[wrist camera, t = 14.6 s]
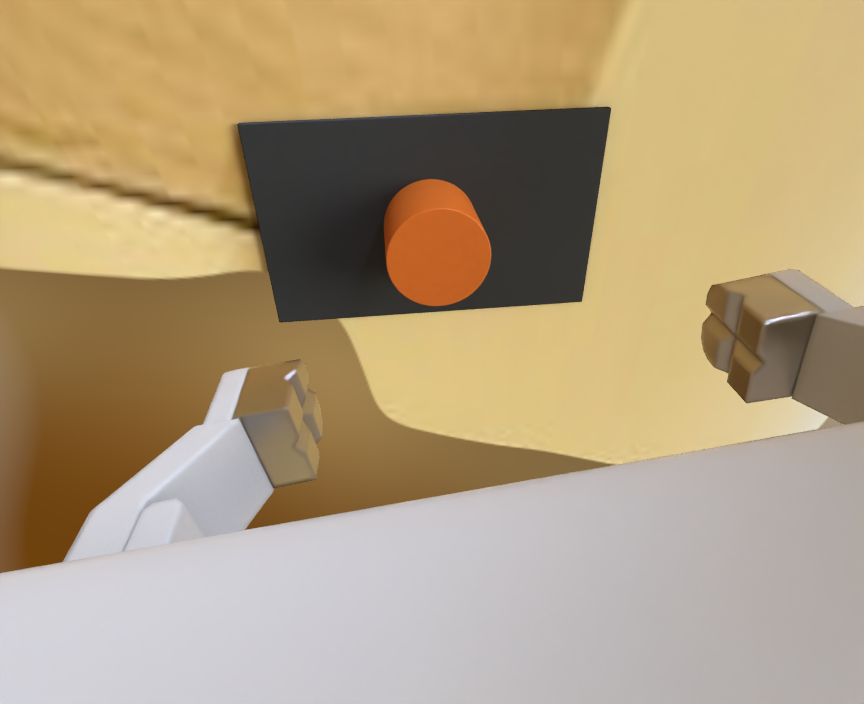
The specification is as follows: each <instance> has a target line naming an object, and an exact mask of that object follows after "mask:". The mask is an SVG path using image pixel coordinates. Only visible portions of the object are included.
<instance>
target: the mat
mask: <svg viewBox="0 0 864 704" xmlns="http://www.w3.org/2000/svg"><path fill="white" fill-rule="evenodd" d="M610 112H611V108H610V107H594V108H571V109H548V110H525V111H503V112H480V113H457V114H434V115H411V116H389V117H366V118H343V119H320V120H297V121H275V122H252V123H239V124H238V129H239V134H240V139H241V144H242V148H243V153H244V158H245V162H246V167H247V172H248V177H249V181H250V186H251V191H252V195H253V200H254V205H255V210H256V214H257V219H258V224H259V228H260V233H261V238H262V243H263V247H264V252H265V257H266V261H267V266H268V271H269V276H270V280H271V285H272V289H273V294H274V299H275V303H276V309H277V313H278V318H279V322H292V321H307V320H322V319H337V318H351V317H366V316H380V315H394V314H409V313H423V312H438V311H452V310H467V309H481V308H496V307H510V306H525V305H539V304H554V303H568V302H582V297H583V290H584V284H585V277H586V270H587V264H588V257H589V251H590V244H591V237H592V231H593V224H594V218H595V211H596V204H597V198H598V191H599V185H600V178H601V171H602V165H603V158H604V152H605V145H606V138H607V132H608V125H609V119H610ZM425 179H438V180H443V181H446V182H449V183H451V184H453V185H455V186H457V187H458V188H459V189H461V190H462V191H463V192H464V193H465V194H466V195H467V197H468V198H469V200H470V201H471V203H472V205H473V207H474V209H475V212H476V214H477V216H478V218H479V220H480V222H481V224H482V226H483V228H484V230H485V232H486V234H487V236H488V239H489V242H490V246H491V263H490V267H489V270H488V273H487V275H486V277H485V279H484V280H483V282H482V283H481V285H480V286H479V287H478V288H477V289H476V290H475V291H474V292H473V293H472V294H471V295H469V296H468V297H466V298H465V299H463V300H461V301H459V302H456V303H453V304H449V305H444V306H428V305H423V304H419V303H417V302H414V301H412V300H410V299H408V298H407V297H405V296H404V295H403V294H402V293H401V292H399V291H398V289H397V288H396V287H395V286H394V284H393V283H392V281H391V279H390V277H389V274H388V271H387V266H386V255H385V239H384V217H385V213H386V210H387V208H388V205H389V203H390V202H391V200H392V199H393V198H394V196H395V195H396V194H397V193H398V192H399V191H400V190H401V189H403V188H404V187H406V186H407V185H409V184H411V183H414V182H416V181H420V180H425Z"/></svg>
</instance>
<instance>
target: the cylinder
mask: <svg viewBox="0 0 864 704" xmlns="http://www.w3.org/2000/svg"><path fill="white" fill-rule="evenodd" d="M384 239H385V255H386V266H387V271H388V274H389V277H390V279H391V281H392V283H393V284H394V286H395V287H396V288H397V289H398V291H399V292H401V293H402V294H403V295H404V296H405V297H407V298H408V299H410V300H412V301H414V302H417V303H419V304H423V305H428V306H444V305H449V304H453V303H456V302H459V301H461V300H463V299H465V298H466V297H468V296H469V295H471V294H472V293H473V292H474V291H475V290H476V289H477V288H478V287H479V286H480V285H481V283H482V282H483V280H484V279H485V277H486V275H487V273H488V270H489V267H490V263H491V246H490V242H489V239H488V236H487V234H486V232H485V230H484V228H483V226H482V224H481V222H480V220H479V218H478V216H477V214H476V212H475V209H474V207H473V205H472V203H471V201H470V200H469V198H468V197H467V195H466V194H465V193H464V192H463V191H462V190H461V189H459V188H458V187H457V186H455V185H453V184H451V183H449V182H446V181H443V180H438V179H425V180H420V181H416V182H414V183H411V184H409V185H407V186H406V187H404V188H403V189H401V190H400V191H399V192H398V193H397V194H396V195H395V196H394V198H393V199H392V200H391V202H390V203H389V205H388V208H387V210H386V213H385V217H384Z"/></svg>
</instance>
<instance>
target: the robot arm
mask: <svg viewBox="0 0 864 704" xmlns="http://www.w3.org/2000/svg"><path fill="white" fill-rule="evenodd" d="M706 305H707V307H708V308H709V309H710V311H711V312H712V313H711V314H710V316H709V317H708V318H707V319H706V320H705V322H704V323H703V326H702V334H701V340H702V345H703V350H704V353H705V355H706V357H707V359H708V360H709V362H710V363H711V364H712V365H713V366H714V367H715V368H717V369H719V370H722V371H724V372H727V373H729V374H728V379H727V382H728V383H729V384H730V386H731V387H732V388H733V389H734V390H735V391H736V392H737V393H738V394H739V396H740V397H741V398H742V399H743V400H744V401H745V402H746V403H751V402H758V401H765V400H771V399H778V398H784V397H791V396H792V399H794V400H796V401H798V402H800V403H802V404H804V405H806V406H808V407H810V408H812V409H814V410H816V411H818V412H820V413H822V414H824V415H826V416H828V417H830V418H832V419H835V420H836V421H838V422H840V423H842V424H844V425H839V426H834V427H828V428H822V429H817V430H811V431H805V432H800V433H794V434H788V435H783V436H777V437H771V438H766V439H760V440H754V441H749V442H743V443H737V444H732V445H726V446H720V447H715V448H709V449H703V450H698V451H692V452H686V453H681V454H675V455H669V456H664V457H658V458H652V459H647V460H641V461H635V462H630V463H624V464H618V465H613V466H607V467H602V468H596V469H590V470H584V471H579V472H573V473H567V474H562V475H556V476H551V477H544V478H539V479H534V480H527V481H522V482H516V483H511V484H505V485H499V486H493V487H489V488H482V489H477V490H471V491H465V492H460V493H454V494H448V495H442V496H437V497H431V498H425V499H420V500H414V501H408V502H403V503H397V504H391V505H386V506H380V507H374V508H368V509H363V510H357V511H351V512H346V513H340V514H335V515H329V516H323V517H317V518H312V519H306V520H300V521H294V522H289V523H283V524H277V525H272V526H266V527H260V528H255V529H249V530H245V529H246V527H247V526H248V525H249V523H250V522H251V521H252V519H253V518H254V517H255V515H256V514H257V513H258V511H259V510H260V509H261V507H262V506H263V505H264V503H265V502H266V501H267V499H268V498H269V497H270V495H271V494H272V493H273V491H274V489H273V488H278V487H283V486H287V485H292V484H297V483H302V482H307V481H312V480H316V479H317V472H318V464H319V456H320V454H319V451H318V448H317V446H316V444H317V443H318V441H319V440H320V439H321V438H322V429H323V427H322V414H321V410H320V405H319V402H318V399H317V396H316V394H315V393H314V392H313V391H311V390H310V389H308V381H309V374H308V372H307V370H306V367H305V364H304V363H303V362H302V361H301V360H300V359H299V360H293V361H287V362H281V363H274V364H268V365H262V366H256V367H252V368H243V369H238V370H233V371H228V372H226V373H224V374H223V375H222V378H221V380H220V382H219V385H218V387H217V390H216V393H215V395H214V397H213V400H212V402H211V405H210V408H209V410H208V413H207V415H206V418H205V420H204V423H203V425H199V426H195V427H193V428H192V429H191V430H190V431H189V432H187V433H186V434H185V435H184V436H182V437H181V438H180V439H179V440H178V441H176V442H175V443H174V444H173V445H172V446H170V447H169V448H168V449H167V450H165V451H164V452H163V453H162V454H160V455H159V456H158V457H157V458H155V459H154V460H153V461H152V462H151V463H149V464H148V465H147V466H146V467H144V468H143V469H142V470H141V471H140V472H138V473H137V474H136V475H135V476H133V477H132V478H131V479H130V480H129V481H127V482H126V483H125V484H124V485H122V486H121V487H120V488H119V489H118V490H116V491H115V492H114V493H113V494H111V495H110V496H109V497H108V498H106V499H105V500H104V501H103V502H102V503H100V504H99V505H98V506H97V507H95V508H94V509H93V510H92V511H91V512H90V513H89V515H88V517H87V519H86V520H85V523H84V524H83V526H82V528H81V530H80V532H79V534H78V535H77V537H76V539H75V541H74V543H73V544H72V546H71V548H70V550H69V552H68V554H67V555H66V557H65V559H64V561H63V562H62V563H56V564H51V565H44V566H39V567H33V568H28V569H22V570H16V571H10V572H5V573H0V704H864V306H860V307H853V306H851V305H850V304H848V303H847V302H845V301H844V300H842V299H841V298H839V297H838V296H836V295H835V294H833V293H832V292H830V291H829V290H827V289H826V288H824V287H823V286H821V285H820V284H818V283H817V282H815V281H814V280H812V279H811V278H809V277H808V276H806V275H805V274H803V273H802V272H800V271H799V270H794V269H787V270H782V271H777V272H773V273H768V274H764V275H760V276H755V277H750V278H745V279H741V280H736V281H731V282H726V283H721V284H716V285H712V286H711V288H710V290H709V292H708V294H707V300H706Z"/></svg>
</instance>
